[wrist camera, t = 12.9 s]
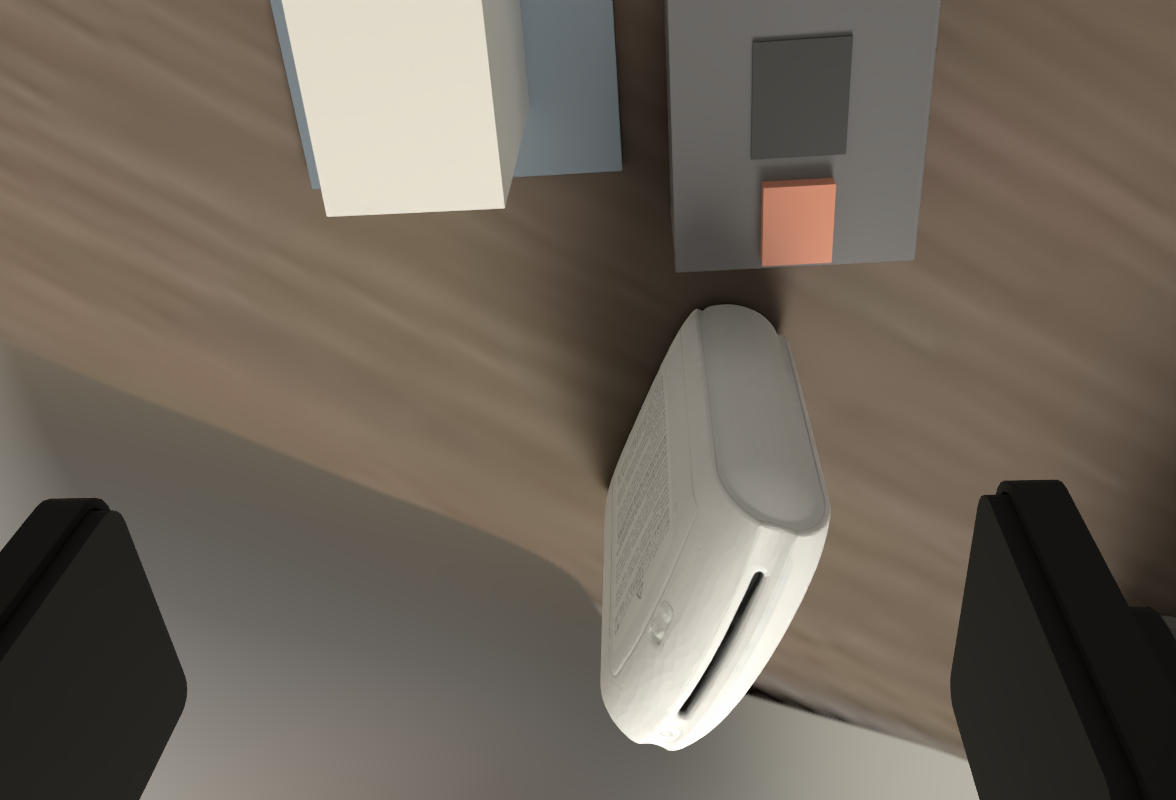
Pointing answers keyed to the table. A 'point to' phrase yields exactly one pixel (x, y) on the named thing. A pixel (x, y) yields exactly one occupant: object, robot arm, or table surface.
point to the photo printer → (708, 528)
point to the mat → (541, 89)
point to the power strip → (797, 130)
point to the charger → (411, 101)
